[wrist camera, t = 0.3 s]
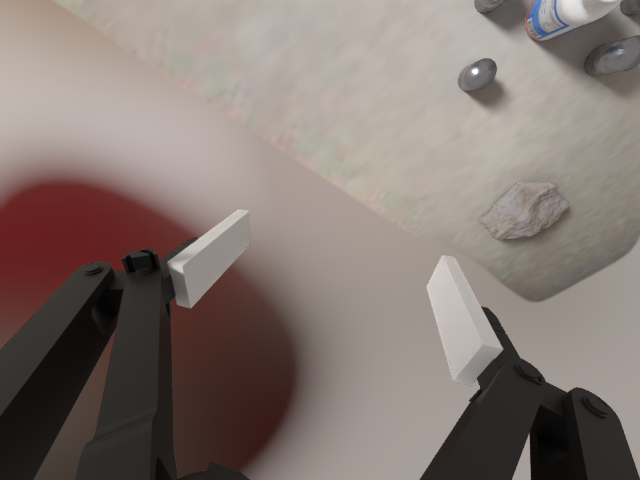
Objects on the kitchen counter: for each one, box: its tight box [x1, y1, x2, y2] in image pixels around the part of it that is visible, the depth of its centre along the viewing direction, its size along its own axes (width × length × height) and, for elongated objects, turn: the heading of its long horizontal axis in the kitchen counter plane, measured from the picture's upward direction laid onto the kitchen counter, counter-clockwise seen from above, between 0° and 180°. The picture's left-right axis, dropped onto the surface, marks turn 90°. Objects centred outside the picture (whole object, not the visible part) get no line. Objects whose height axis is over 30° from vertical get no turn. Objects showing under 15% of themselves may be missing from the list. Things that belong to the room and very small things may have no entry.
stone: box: [480, 181, 568, 240], centre depth 36 cm, size 8×10×6 cm
